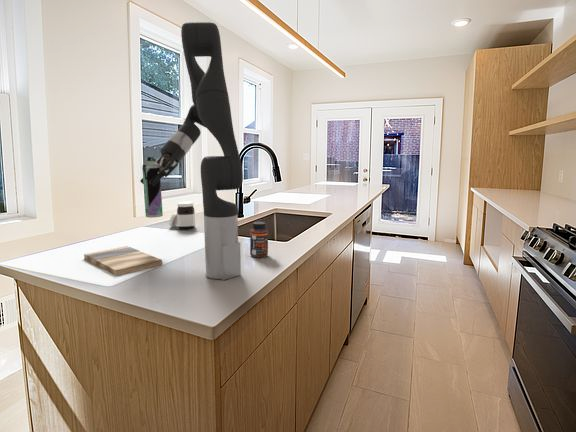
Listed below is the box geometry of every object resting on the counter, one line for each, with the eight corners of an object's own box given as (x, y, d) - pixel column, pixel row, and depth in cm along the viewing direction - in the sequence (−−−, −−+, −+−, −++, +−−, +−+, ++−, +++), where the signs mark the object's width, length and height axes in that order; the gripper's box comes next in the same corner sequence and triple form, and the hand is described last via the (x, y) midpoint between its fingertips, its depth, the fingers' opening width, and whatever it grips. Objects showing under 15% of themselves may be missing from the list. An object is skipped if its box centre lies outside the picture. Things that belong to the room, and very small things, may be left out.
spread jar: (195, 230, 163) (194, 204, 161) (168, 231, 161) (166, 204, 159) (195, 224, 175) (194, 200, 173) (170, 225, 172) (169, 201, 170)
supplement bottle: (255, 259, 120) (255, 225, 118) (247, 255, 125) (246, 222, 123) (271, 256, 123) (271, 223, 121) (262, 252, 128) (262, 220, 126)
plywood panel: (162, 264, 114) (161, 259, 114) (116, 275, 104) (115, 269, 104) (127, 250, 130) (126, 245, 130) (84, 258, 120) (84, 253, 120)
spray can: (157, 217, 123) (153, 157, 120) (142, 217, 125) (138, 157, 121) (165, 215, 129) (162, 156, 125) (151, 214, 130) (147, 156, 126)
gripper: (159, 140, 132) (128, 175, 126) (181, 139, 123) (149, 177, 116) (173, 155, 137) (144, 189, 130) (195, 155, 128) (165, 192, 121)
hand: (147, 183), depth 123 cm, fingers closed on spray can, 5 cm apart
